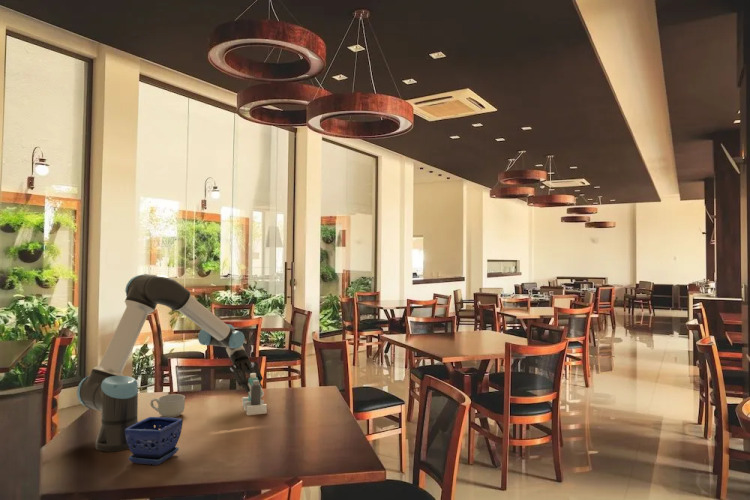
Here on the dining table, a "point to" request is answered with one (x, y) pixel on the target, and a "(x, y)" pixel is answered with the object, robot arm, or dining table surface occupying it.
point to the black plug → (255, 393)
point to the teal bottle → (251, 382)
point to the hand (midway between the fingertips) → (257, 396)
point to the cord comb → (254, 407)
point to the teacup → (169, 405)
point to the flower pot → (153, 439)
